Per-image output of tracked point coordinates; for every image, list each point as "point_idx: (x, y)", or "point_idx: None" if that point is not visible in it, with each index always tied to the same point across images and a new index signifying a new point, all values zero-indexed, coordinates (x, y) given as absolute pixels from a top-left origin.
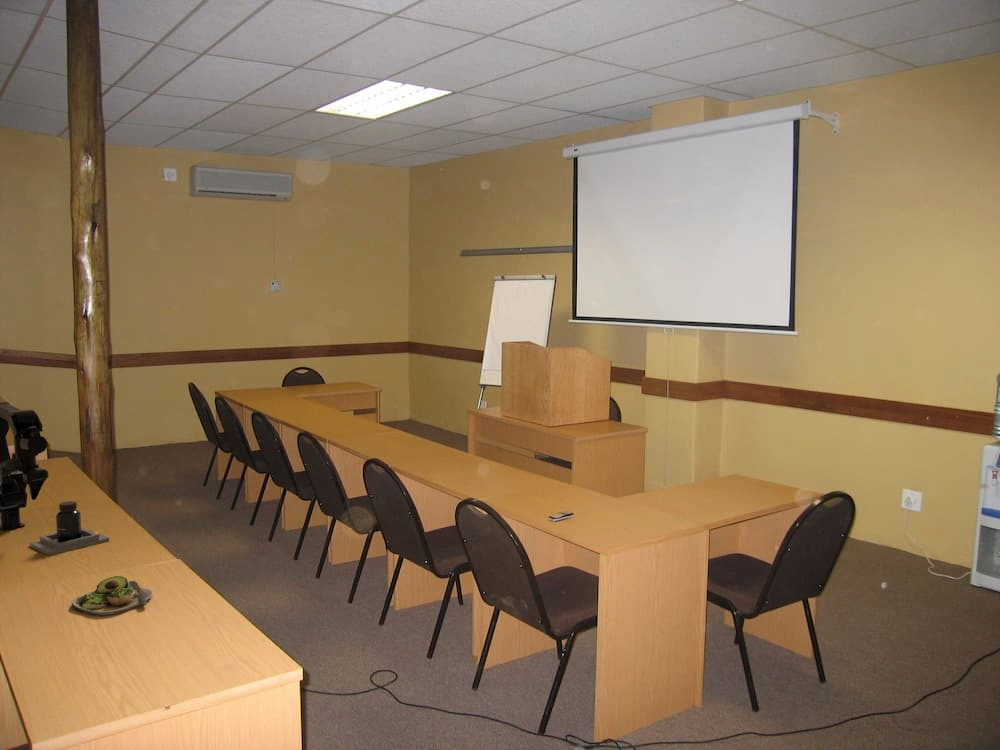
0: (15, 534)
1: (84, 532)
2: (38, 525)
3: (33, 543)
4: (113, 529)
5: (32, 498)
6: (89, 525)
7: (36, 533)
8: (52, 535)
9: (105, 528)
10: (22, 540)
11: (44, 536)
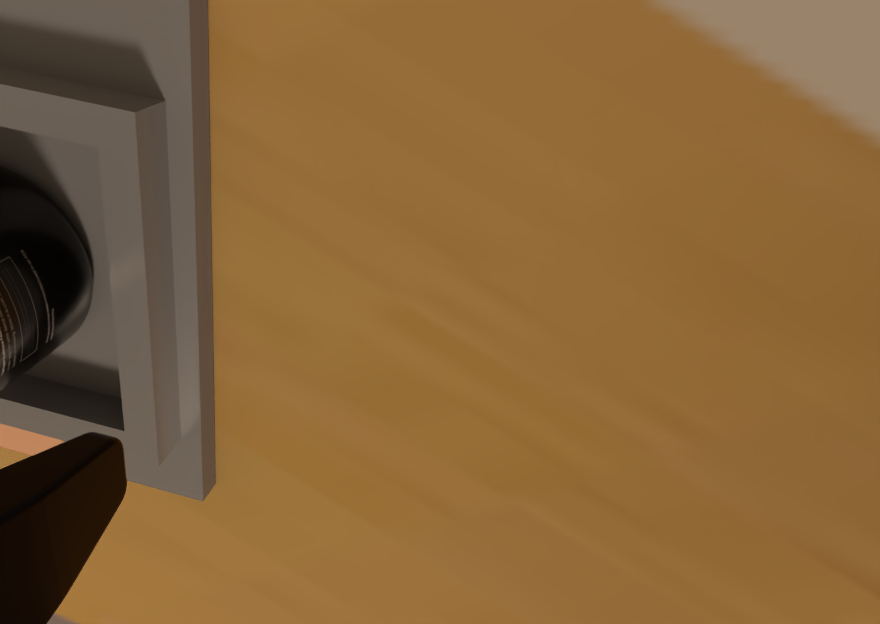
0: (783, 178)
1: (31, 397)
2: (829, 473)
3: (137, 11)
4: (151, 571)
5: (57, 449)
6: (387, 590)
7: (582, 300)
8: (109, 212)
9: (216, 572)
10: (477, 78)
11: (102, 138)
